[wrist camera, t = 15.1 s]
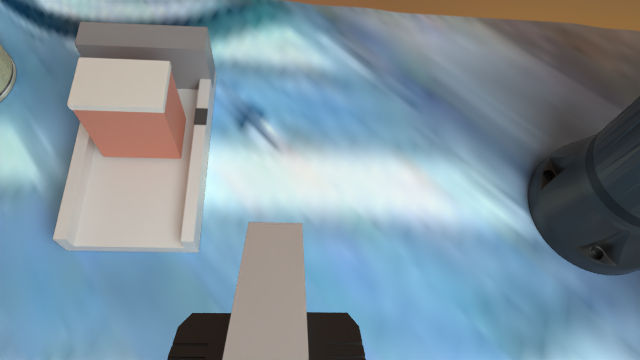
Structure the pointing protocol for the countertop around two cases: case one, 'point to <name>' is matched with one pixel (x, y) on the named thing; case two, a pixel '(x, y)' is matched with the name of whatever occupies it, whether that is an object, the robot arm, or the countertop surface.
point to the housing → (143, 173)
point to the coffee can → (6, 73)
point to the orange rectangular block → (129, 107)
